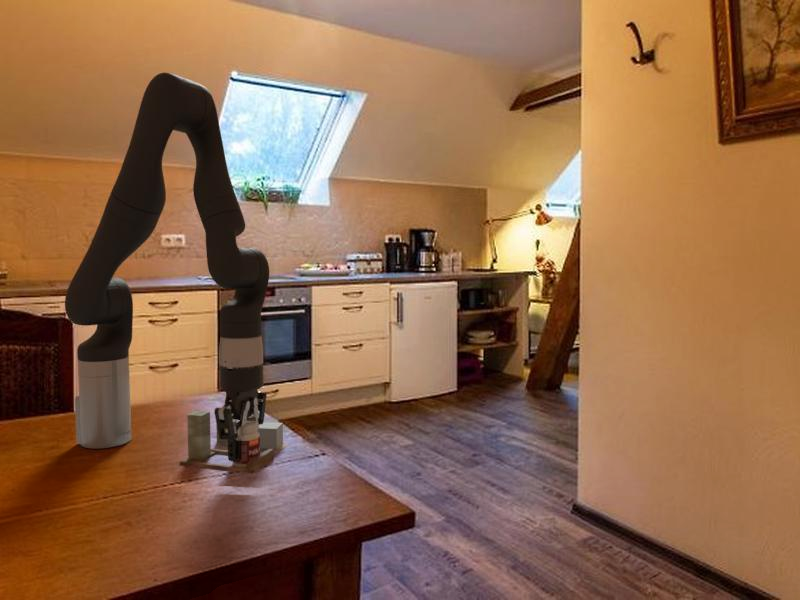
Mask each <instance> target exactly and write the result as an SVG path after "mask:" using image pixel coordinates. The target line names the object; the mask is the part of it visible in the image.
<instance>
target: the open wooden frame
mask: <svg viewBox="0 0 800 600" xmlns="http://www.w3.org/2000/svg"><path fill="white" fill-rule="evenodd" d="M186 418H187V419H186V420H187V458H185V459H180V461H179V465H183V466H192V467H201V468H208V469H214V470H223V471H224V470H227V471H232V472H233V471H235V472H240V473H251V474H254V473H255V472H256V471H258V470H260V469H261V468H262V467H264V466H265V465H267V464H268V463H270V462H271V461H272V460H273V459H275V458H274V457H275V456H274V454H275V453H274V451H275V450H274V449H265V450H264V451H262V452H260V455H258V456H257V457H255V458H254V459H252V460H251V461H249V462H248V468H245V467H236V466H233V465H228V464H227V465H225V464H219V463H211V462H210V463H209V462H204V461H206V460H208V459H209V458H211V457H213V456H214V455H216V454H220V455H226V456H228V449H227V450H226V449H225V450H224V449H217V448H215V449H214V448H211V447H212V446H211V411H205V410H204V411H202V410H195V411H192V412H191V413H188V414H187V417H186Z"/></svg>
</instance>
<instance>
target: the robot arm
mask: <svg viewBox="0 0 800 600" xmlns="http://www.w3.org/2000/svg"><path fill="white" fill-rule="evenodd" d="M217 111H218V110H217V107H216V103H215V100H214V97H213V95H212V93H211V92H210V90H209V89H208V88H207V87H206V86H204V85H202V84H201V83H198V82H196V81H193V80H191V79H187V78H185V77H182V76H180V75H177V74H175V73H170V72H161V73H158V74H156V75H155V76H153V78H152V79H151V80H150V81H149V82H148V85H147V86H146V88H145V91H144V93H143V96H142V99H141V102H140V106H139V109H138V113H137V117H136V120H135V123H134V127H133V131H132V134H131V138H130V142H129V145H128V148H127V151H126V153H125V157H124V159H123V162H122V164H121V166H120V167H121V168H120V171H119V172H118V175H117V177H116V180H115V182H114V185H113V187H112V189H111V192H110V193H109V197H108V198H107V202H106V204H105V206H104V207H105V208H104V210H103V213H102V216H101V219H100V221H99V224H98V226H97V228H96V231H95V233H94V235H93V237H92V240H91V242H90V245H89V247H88V249H87V251H86V253H85V255H84V257H83V259H82V260H81V262H80V264H79V266H78V268H77V270H76V272H75V273H74V275H73V277H72V279H71V281H70V283H69V285H68V287H67V290H66V295H65V297H64V298H65V300H64V311H65V314H66V317H67V318H68V320H69V321H70V322H71V323H73V324H75V325H77V326H82V327H83V326H85V327H86V326H96V329H95V331H94V333H93V334H92V335H91V336H90V337H88V339H85V340H84V341H83V342H81V343H80V344H79V345H77V351H76V355H77V358H76V359H77V375H78V376H77V377H78V379H77V382H78V395H77V396H75V398H74V411H75V412H74V413H75V415H74V416H75V436H76V437H75V438H76V439H75V440H76V441H75V443H76V444H77V445H80V446H81V447H83V448H87V449H107V448H108V449H109V448H114V447H118V446H122V445H125V444H127V443H129V442H130V441H131V440H132V421H131V420H132V417H131V416H132V415H131V387H130V386H131V382H130V356H129V352H130V346H131V345H132V341H133V321H134V320H133V317H134V303H133V300H134V299H133V294H132V291H131V289H130V286H129V285H128V284H127V282H126V281H125V280H124V279H123V278H120V277H114V275H115V273H116V272H117V270H118V269H119V268H120V266H121V265H122V264H123V263H124V262H125V261H126V260H127V259H128V258H129V257H130V256H131V255H133V253H135V252H136V251H137V250H138V249H139V248H140V247H141V246H143V244H145V242H146V241H147V240H148V239H149V238H150V237H151V235H152V234H153V232H154V231H155V229H156V227H157V225H158V222H159V221H160V217H161V215H162V212H163V210H164V208H165V204H166V199H167V194H166V193H167V191H166V184H165V176H164V172H163V157H164V153H165V150H166V147H167V145H168V142H169V138H170V136H171V135H172V133H173V131H176V132H180V133H184V134H186V136H187V138H188V140H189V141H190V144H191V146H192V149H193V151H194V156H195V173H194V178H193V184H192V185H193V186H192V190H193V191H192V192H193V193H192V194H193V199H194V203H195V206H196V210H197V213H198V215H199V217H200V221H201V223H202V227H203V229H204V233H205V249H206V251H205V252H206V263H207V268H208V273H209V275H210V276H211V279H212V280H213V281H214V283H216V285H218V287H220V288H223V289H227V290H235V291H234V295H233V298H232V299H231V300H230V301H228V302H227V303H225V304H223V305H222V306H221V308H220V311H219V329H220V330H219V335H220V339H219V346H218V366H219V369H218V370H219V376H218V377H219V388H220V389H221V390H222V391H224V392H225V398H224V405H222V407H215V408H214V418H215V423H217V429H218V434H219V439H222V440H223V439H224V440H227V442H228V445H227V451H228V455H227V460H228V461H229V462H233V461H234V462H238V461H240V460H241V440H240V439H241V433H242V428H243V427H245V424H246V420H254V421H257V422H258V429H259V425H260V424H263V422H265V412H266V404H267V392H266V391H258V390H260V389H262V388H263V386H264V345H263V338H262V310H263V306H264V303H265V299H266V295H267V290H268V285H269V281H270V266H269V262H268V259H267V257H266V255H265V254H264V252H262V251H261V250H260V249H257V248H255V247H238V244H237V237H238V236H241V235H242V234H243V233H244V231H245V229H246V221H245V218H244V215H243V212H242V209H241V205H240V204H239V201H238V197H237V195H236V192H235V190H234V187H233V184H232V183H233V182H232V181H231V176H230V172H229V169H228V165H227V160H226V154H225V149H224V144H223V138H222V133H221V128H220V121H219V115H218V112H217ZM233 420H237V421H239V422H233ZM234 426H236V433H235V431H234ZM224 429H226V432H225V430H224Z"/></svg>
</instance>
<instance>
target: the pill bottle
mask: <svg viewBox="0 0 800 600" xmlns="http://www.w3.org/2000/svg"><path fill="white" fill-rule="evenodd" d="M239 421H240V420H237V422H239ZM257 430H258V422H257V421H254V420H246V424H245V427H243V428H242V433H241V439H240V440H241V460H240V461H238V462H234V461H232V466H236V467H245V468H248V462H249V461H251V460H252V459H254V458H255V457H257V456H258V455H260V454H261V449H260V434H259V433H258V432H257ZM234 431H235V433H236V426H234Z"/></svg>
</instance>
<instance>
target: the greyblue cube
mask: <svg viewBox="0 0 800 600" xmlns="http://www.w3.org/2000/svg"><path fill="white" fill-rule="evenodd" d="M257 432H258V433H259V434H260V450H261V449H262V450H267V449H278V448H279V447H280V445H281V444H284V422H266V421H264V422H263V424H260V425H259V429H258V430H257Z"/></svg>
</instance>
